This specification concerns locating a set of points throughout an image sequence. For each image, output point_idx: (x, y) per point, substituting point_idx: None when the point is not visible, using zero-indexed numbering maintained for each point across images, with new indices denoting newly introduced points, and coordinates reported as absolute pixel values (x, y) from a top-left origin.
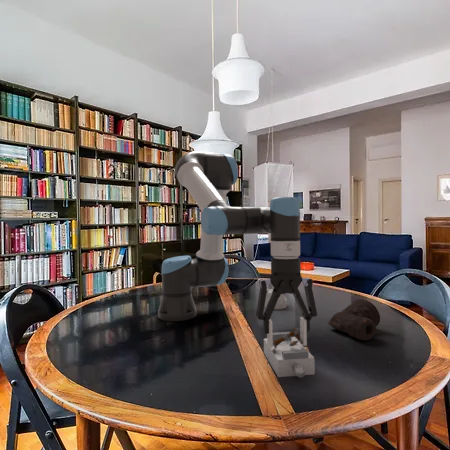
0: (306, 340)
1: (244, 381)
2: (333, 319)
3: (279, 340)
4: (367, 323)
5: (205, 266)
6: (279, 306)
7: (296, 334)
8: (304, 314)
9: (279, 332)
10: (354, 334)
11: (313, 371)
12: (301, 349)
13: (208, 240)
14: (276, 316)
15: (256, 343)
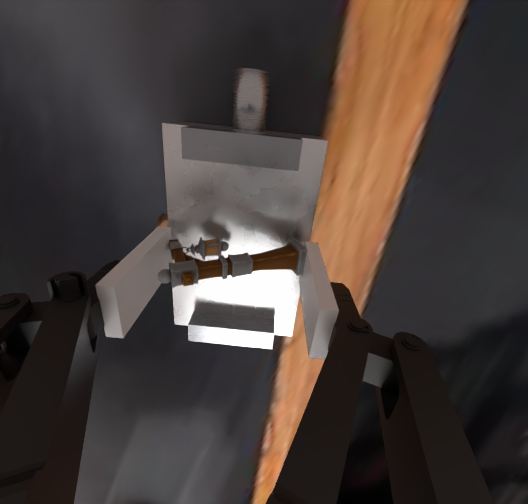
0: (151, 234)
1: (442, 136)
2: (1, 411)
3: (272, 256)
4: None
5: None
6: None
7: (186, 261)
8: (84, 313)
9: (230, 343)
10: None
11: (185, 122)
12: (188, 216)
13: None
14: (168, 479)
15: (285, 361)
